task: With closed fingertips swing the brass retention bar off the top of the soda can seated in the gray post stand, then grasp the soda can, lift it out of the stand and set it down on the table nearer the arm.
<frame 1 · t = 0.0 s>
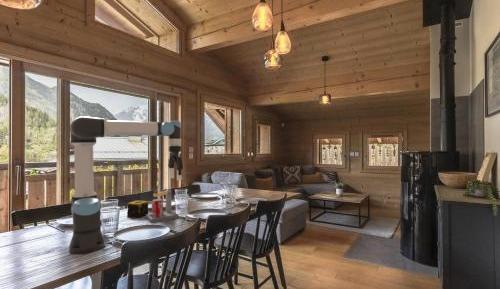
hand: (175, 179, 173), 28 cm above the table, fingers open, 13 cm apart
clip: (162, 192, 189), point 17 cm above the table, hinge at 0.0°
soda can: (157, 219, 184), resting in gray post stand
gray post stand: (161, 218, 187), on the table
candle: (138, 216, 192), on the table
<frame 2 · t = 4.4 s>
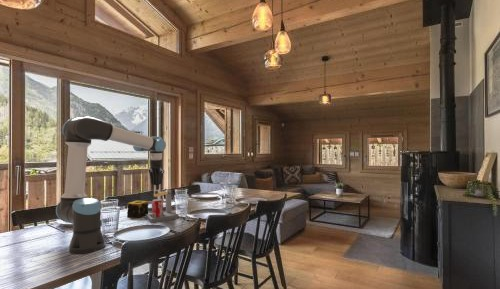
hand: (156, 194, 185), 16 cm above the table, fingers closed
clip: (162, 192, 188), point 17 cm above the table, hinge at 1.6°, touching gripper
everything else where it was.
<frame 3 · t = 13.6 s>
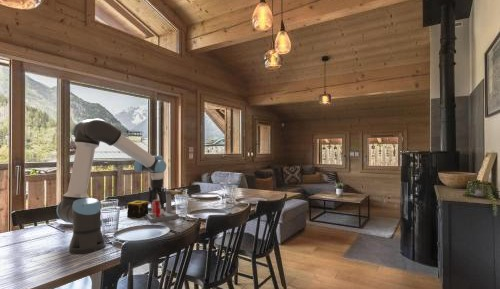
hand: (157, 213, 185), 4 cm above the table, fingers closed on soda can, 6 cm apart
clip: (174, 191, 191), point 17 cm above the table, hinge at 93.3°
soda can: (158, 219, 184), resting in gray post stand, touching gripper
everything else where it was.
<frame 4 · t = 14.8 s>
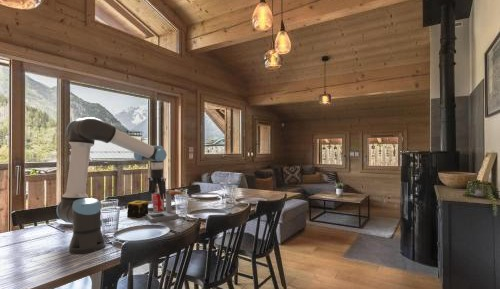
hand: (157, 203, 184), 11 cm above the table, fingers closed on soda can, 6 cm apart
soda can: (158, 212, 184), point 5 cm above the table, touching gripper
everything else where it was.
when the fingers open (4 cm above the table, at t = 19.5 s): soda can stays where it is, on the table.
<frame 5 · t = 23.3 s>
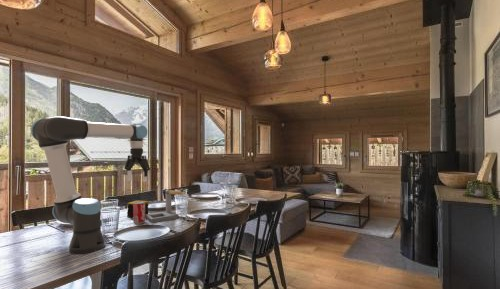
hand: (137, 181, 176), 27 cm above the table, fingers open, 13 cm apart
soda can: (139, 223, 176), on the table
everything else where it was.
at the end: clip at +93° (first picture: +0°); soda can inside the target area (1.1 cm from its centre), on the table; soda can tilted 0° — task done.
